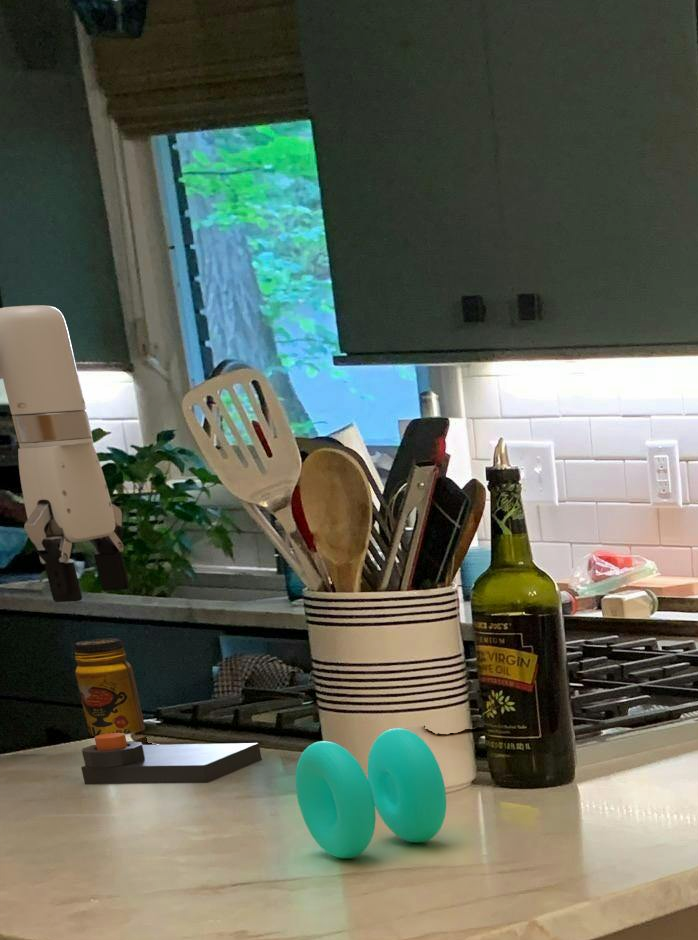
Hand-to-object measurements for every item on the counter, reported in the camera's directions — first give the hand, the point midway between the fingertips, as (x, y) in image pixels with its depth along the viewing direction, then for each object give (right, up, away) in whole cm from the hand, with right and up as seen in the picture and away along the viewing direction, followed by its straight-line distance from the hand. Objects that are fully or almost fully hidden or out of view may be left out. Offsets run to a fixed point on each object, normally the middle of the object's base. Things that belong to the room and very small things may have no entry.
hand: (92, 595), depth 217 cm
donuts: (+46, -38, -46) cm, 75 cm away
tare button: (+8, -20, -13) cm, 25 cm away
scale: (+13, -22, -9) cm, 27 cm away
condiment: (0, -16, +7) cm, 17 cm away
